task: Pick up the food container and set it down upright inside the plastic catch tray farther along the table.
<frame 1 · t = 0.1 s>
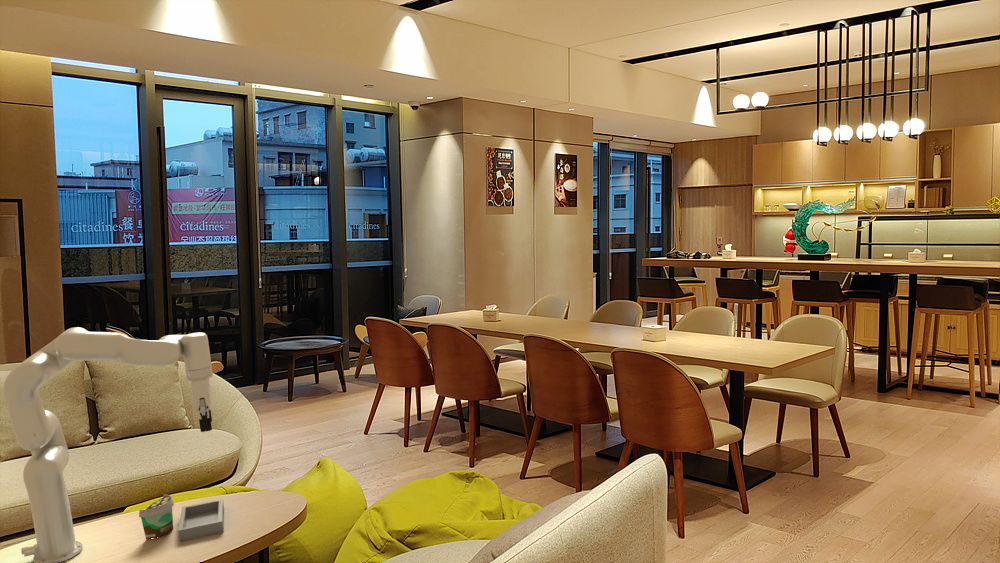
hand: (206, 426, 229), 31 cm above the table, tool pointing down, fingers open, 9 cm apart
catch tray: (202, 524, 231), on the table
food container: (164, 533, 228), on the table
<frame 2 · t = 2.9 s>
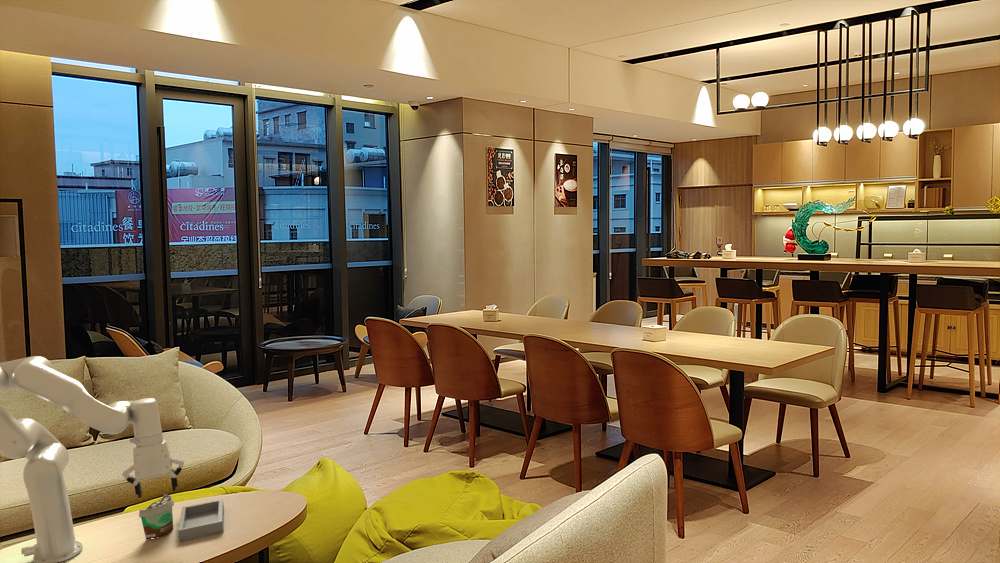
hand: (157, 492, 226), 13 cm above the table, tool pointing down, fingers open, 9 cm apart
nothing on the table moved.
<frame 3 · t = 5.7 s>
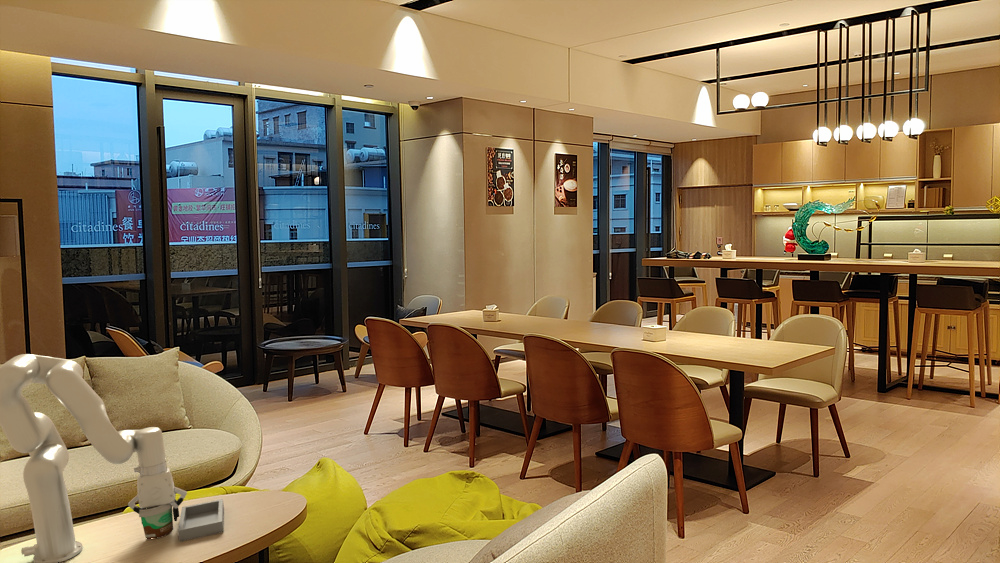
hand: (161, 522, 227), 3 cm above the table, tool pointing down, fingers closed on food container, 7 cm apart
food container: (164, 533, 228), on the table, touching gripper
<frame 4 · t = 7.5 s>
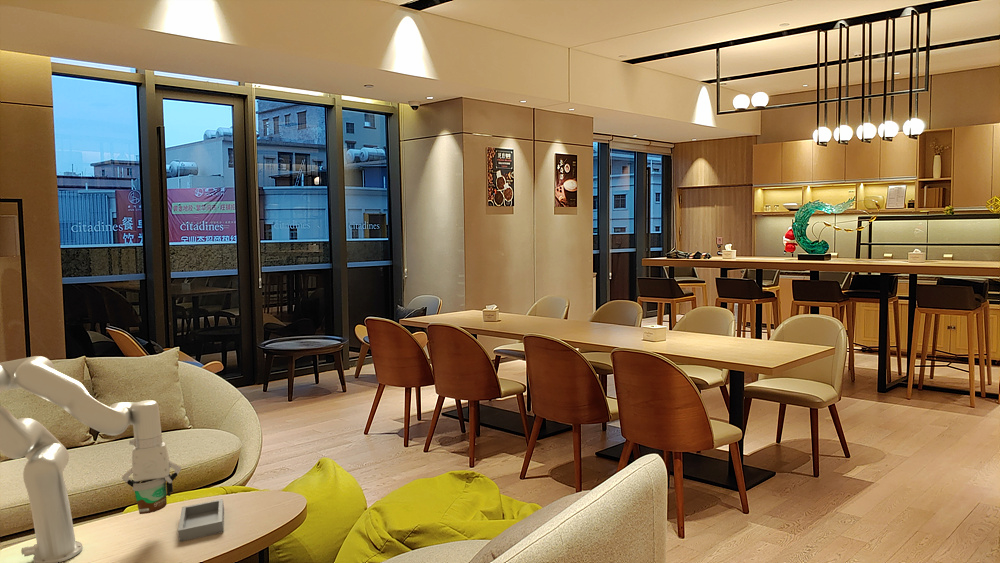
hand: (154, 496, 226), 12 cm above the table, tool pointing down, fingers closed on food container, 7 cm apart
food container: (158, 508, 226), point 8 cm above the table, touching gripper
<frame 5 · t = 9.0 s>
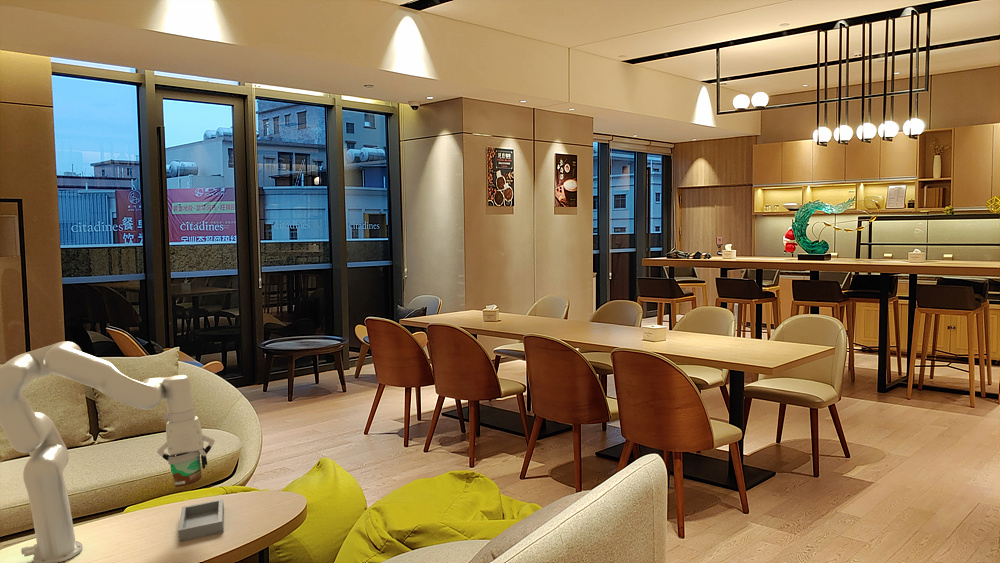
hand: (189, 469, 228), 18 cm above the table, tool pointing down, fingers closed on food container, 7 cm apart
food container: (193, 480, 229), point 15 cm above the table, touching gripper
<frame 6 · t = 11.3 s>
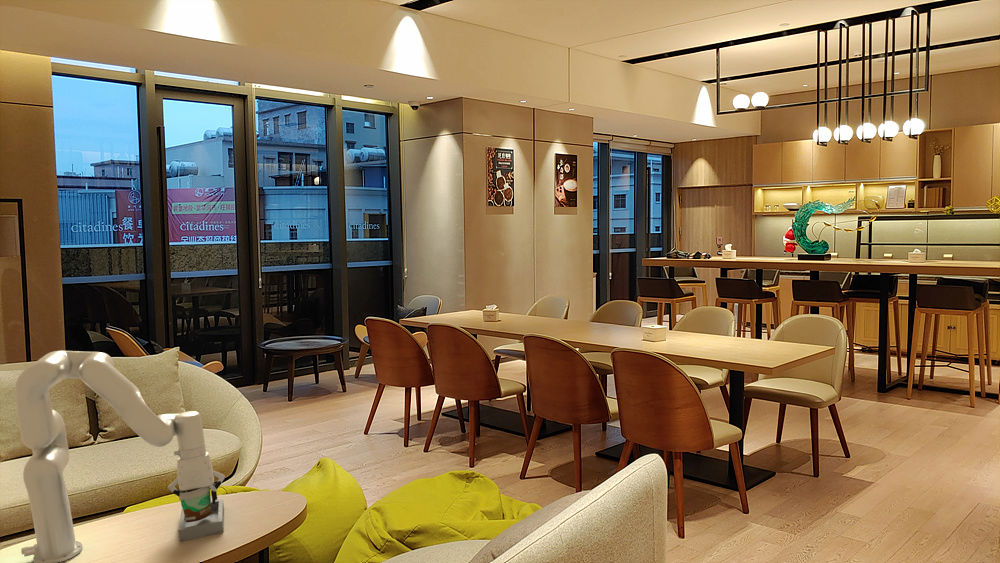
hand: (200, 505, 230), 6 cm above the table, tool pointing down, fingers closed on food container, 7 cm apart
food container: (203, 515, 231), point 3 cm above the table, touching gripper
when the fingers open (6 cm above the table, at t = 12.5 s): food container drops 2 cm, resting on catch tray.
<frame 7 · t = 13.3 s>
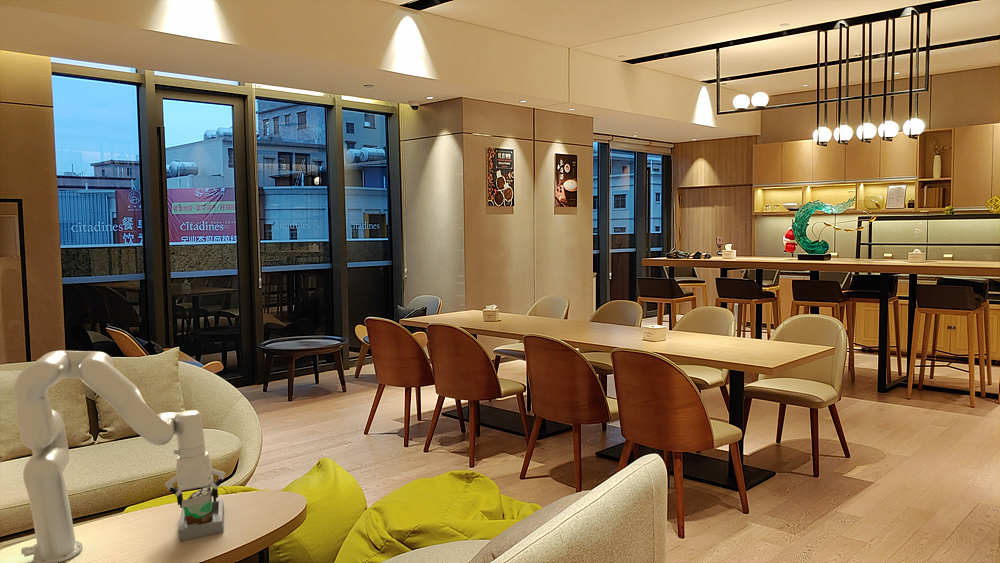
hand: (198, 503, 230), 7 cm above the table, tool pointing down, fingers open, 9 cm apart
food container: (205, 522, 231), resting on catch tray, touching gripper
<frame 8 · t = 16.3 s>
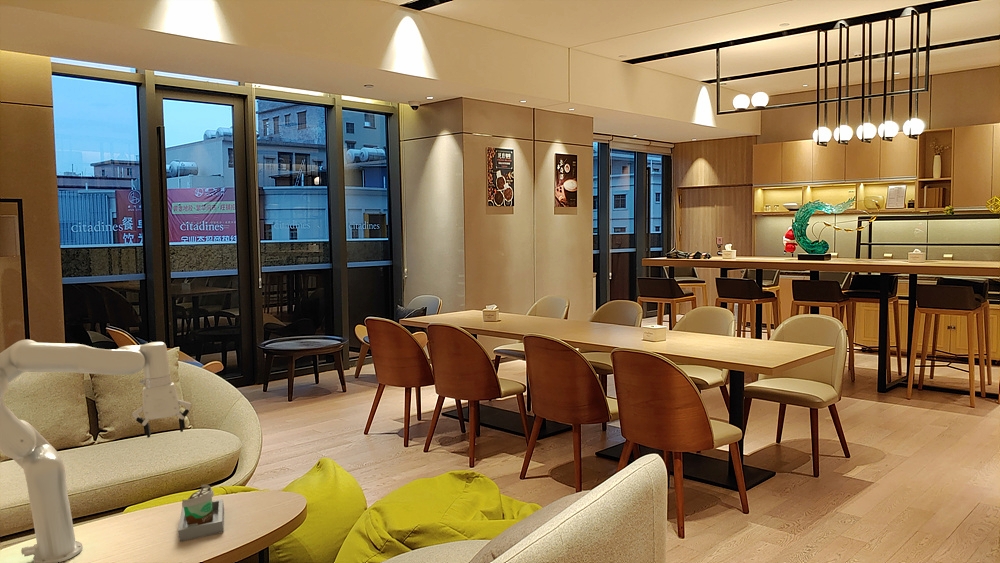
hand: (165, 433, 234), 28 cm above the table, tool pointing down, fingers open, 9 cm apart
food container: (205, 522, 231), resting on catch tray
at the end: food container 0.8 cm off-centre on the catch tray, point 0.4 cm above the catch tray's base; food container tilted 0°; the gripper is holding nothing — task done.
